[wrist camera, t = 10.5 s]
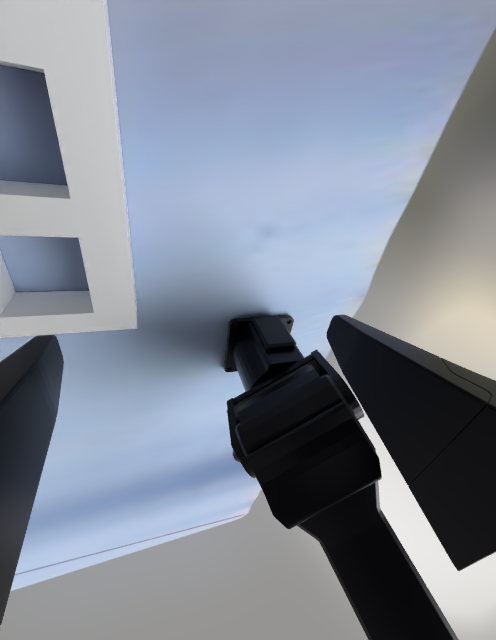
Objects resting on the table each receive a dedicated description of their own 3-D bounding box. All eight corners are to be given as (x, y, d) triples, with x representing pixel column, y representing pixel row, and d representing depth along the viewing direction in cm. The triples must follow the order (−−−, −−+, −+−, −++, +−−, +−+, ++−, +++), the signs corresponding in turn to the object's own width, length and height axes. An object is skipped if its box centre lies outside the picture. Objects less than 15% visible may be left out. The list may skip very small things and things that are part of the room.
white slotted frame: (137, 306, 22) (137, 328, 20) (-22, 312, 19) (-44, 340, 16) (84, -228, 10) (67, -333, 7) (-412, -484, 6) (-718, -815, 4)
